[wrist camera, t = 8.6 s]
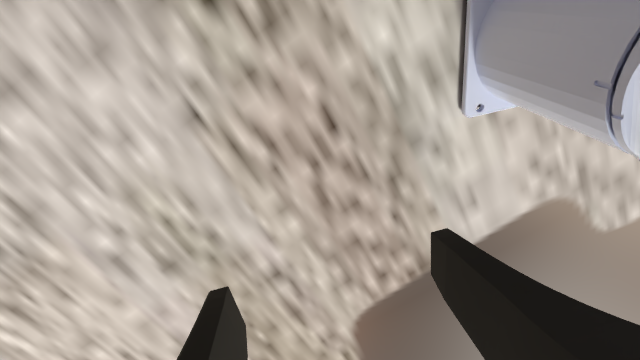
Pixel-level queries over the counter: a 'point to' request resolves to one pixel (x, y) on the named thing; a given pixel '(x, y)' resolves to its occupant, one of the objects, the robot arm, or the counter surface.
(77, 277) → the counter surface
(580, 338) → the robot arm
